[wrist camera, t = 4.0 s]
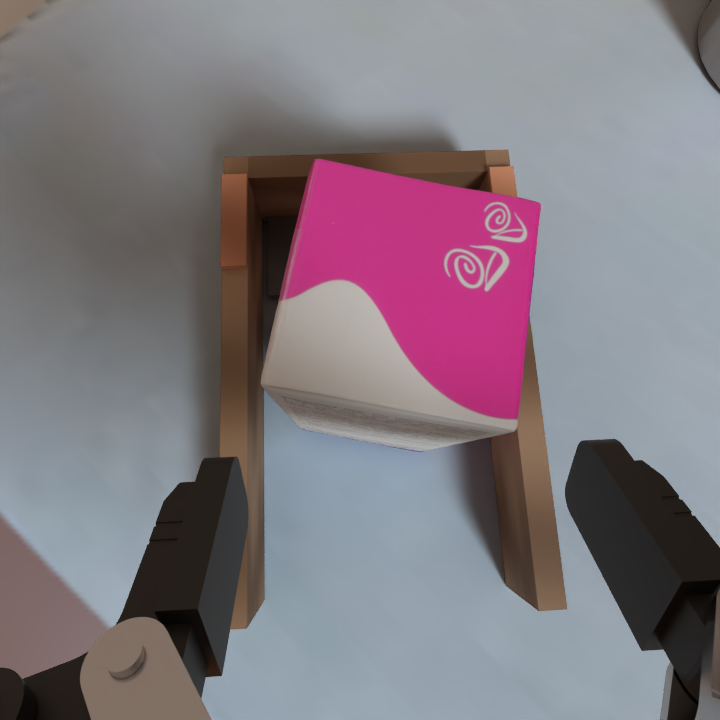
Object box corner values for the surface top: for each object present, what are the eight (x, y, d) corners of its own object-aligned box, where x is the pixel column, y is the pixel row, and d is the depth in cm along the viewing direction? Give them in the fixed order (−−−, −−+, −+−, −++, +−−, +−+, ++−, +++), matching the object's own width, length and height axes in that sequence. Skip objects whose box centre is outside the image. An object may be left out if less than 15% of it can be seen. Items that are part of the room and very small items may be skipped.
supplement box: (428, 454, 21) (520, 442, 10) (296, 429, 21) (239, 388, 10) (448, 329, 22) (549, 193, 11) (323, 306, 22) (298, 147, 11)
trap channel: (242, 202, 23) (222, 152, 20) (485, 195, 24) (510, 145, 20) (239, 601, 20) (214, 633, 16) (529, 584, 20) (571, 611, 16)
